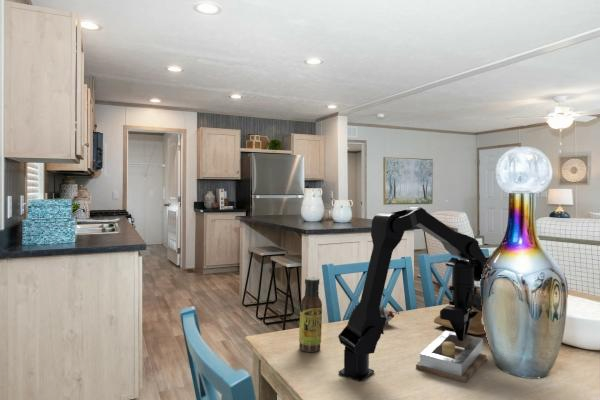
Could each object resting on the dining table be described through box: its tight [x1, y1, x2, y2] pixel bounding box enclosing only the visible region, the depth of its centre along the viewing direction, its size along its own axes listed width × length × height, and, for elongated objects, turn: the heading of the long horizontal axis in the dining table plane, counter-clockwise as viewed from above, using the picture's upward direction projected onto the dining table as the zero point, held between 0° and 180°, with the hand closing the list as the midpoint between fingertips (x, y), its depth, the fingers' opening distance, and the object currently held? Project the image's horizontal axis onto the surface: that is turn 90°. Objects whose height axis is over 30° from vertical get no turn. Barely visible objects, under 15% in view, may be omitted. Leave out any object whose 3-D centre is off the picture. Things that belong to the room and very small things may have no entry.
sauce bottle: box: [298, 276, 323, 353], centre depth 113 cm, size 6×6×20 cm
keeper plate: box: [415, 341, 488, 384], centre depth 104 cm, size 18×12×6 cm, turn 141°
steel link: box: [419, 329, 484, 377], centre depth 104 cm, size 18×10×3 cm, turn 141°
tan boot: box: [433, 284, 486, 336], centre depth 130 cm, size 15×12×15 cm
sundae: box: [352, 304, 400, 325], centre depth 135 cm, size 7×7×15 cm
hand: (462, 339), depth 110 cm, fingers open, 2 cm apart
